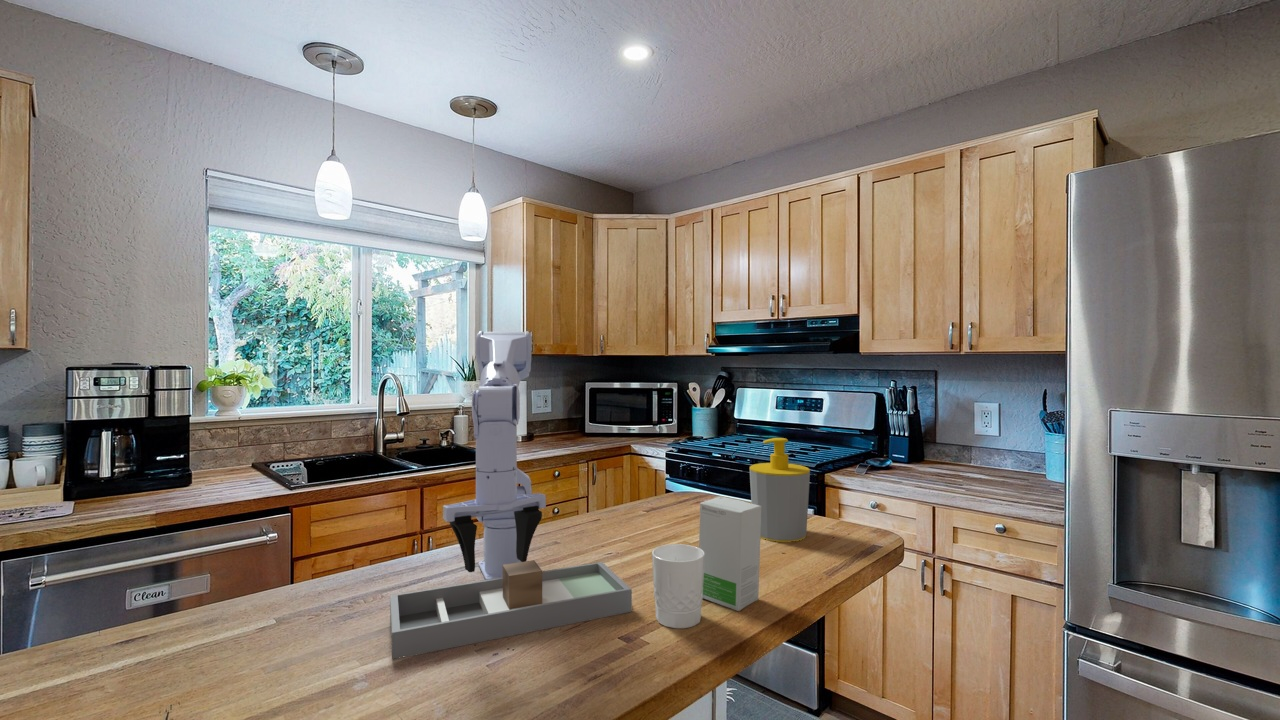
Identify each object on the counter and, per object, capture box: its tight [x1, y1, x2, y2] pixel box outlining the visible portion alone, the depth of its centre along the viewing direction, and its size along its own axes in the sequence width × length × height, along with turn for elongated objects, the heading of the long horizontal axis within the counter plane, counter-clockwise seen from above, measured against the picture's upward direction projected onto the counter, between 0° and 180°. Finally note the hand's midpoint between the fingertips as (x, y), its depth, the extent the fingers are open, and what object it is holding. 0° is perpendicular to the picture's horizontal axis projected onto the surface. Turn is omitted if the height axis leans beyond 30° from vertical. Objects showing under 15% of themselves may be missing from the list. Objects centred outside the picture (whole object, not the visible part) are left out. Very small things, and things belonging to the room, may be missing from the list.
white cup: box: [651, 543, 705, 629], centre depth 87 cm, size 8×8×10 cm
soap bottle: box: [749, 437, 811, 543], centre depth 128 cm, size 13×13×21 cm
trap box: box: [389, 561, 633, 660], centre depth 88 cm, size 13×34×4 cm, turn 114°
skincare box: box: [698, 496, 761, 612], centre depth 94 cm, size 8×7×16 cm
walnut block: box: [503, 559, 543, 610], centre depth 89 cm, size 5×5×5 cm
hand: (496, 564), depth 82 cm, fingers open, 7 cm apart
